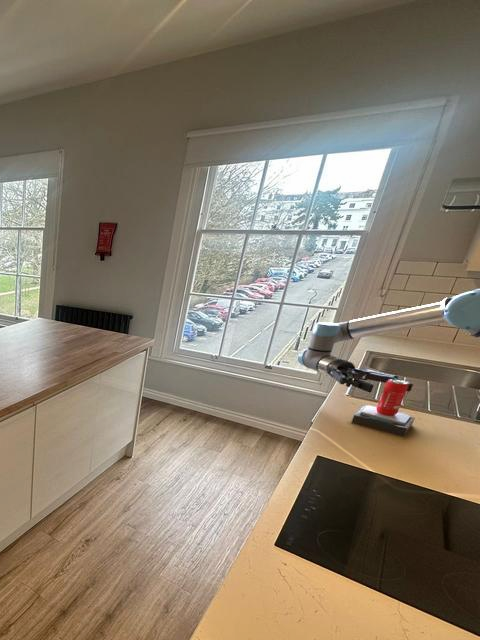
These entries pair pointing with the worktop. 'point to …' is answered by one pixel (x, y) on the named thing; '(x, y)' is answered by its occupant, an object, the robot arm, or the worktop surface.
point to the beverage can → (392, 397)
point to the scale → (383, 421)
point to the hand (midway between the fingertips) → (391, 388)
